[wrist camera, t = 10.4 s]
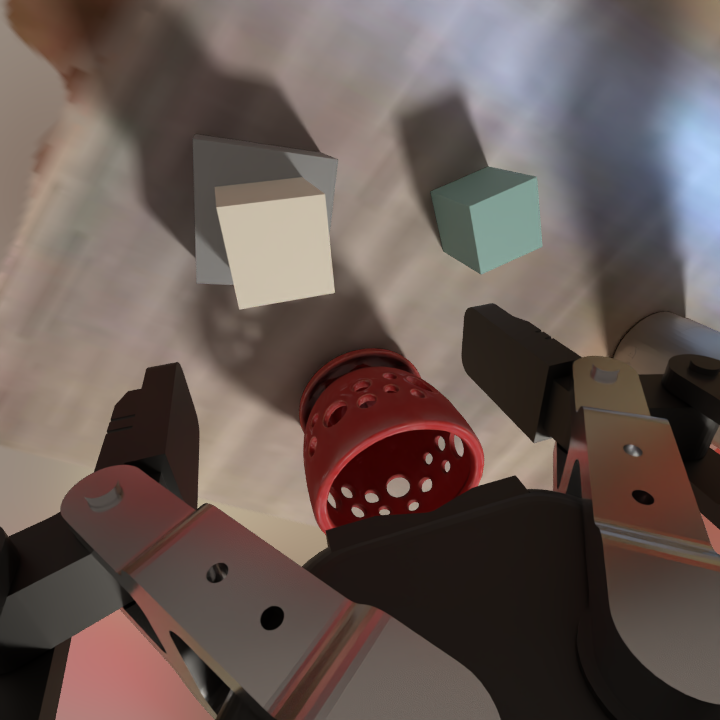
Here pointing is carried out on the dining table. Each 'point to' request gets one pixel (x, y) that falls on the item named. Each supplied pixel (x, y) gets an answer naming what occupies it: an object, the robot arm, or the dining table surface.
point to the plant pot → (381, 438)
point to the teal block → (488, 217)
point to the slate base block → (239, 166)
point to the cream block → (276, 240)
